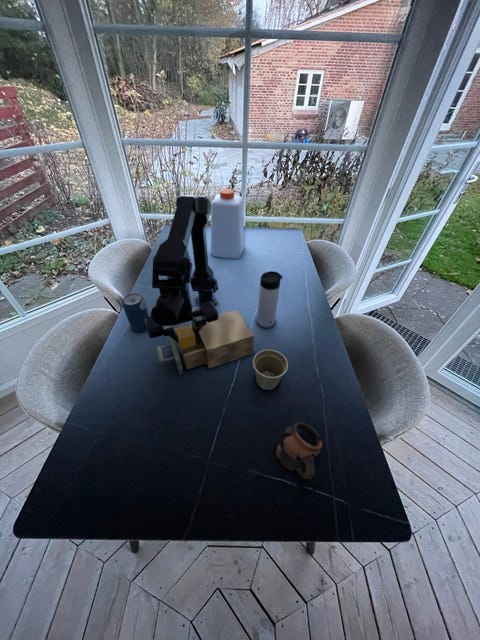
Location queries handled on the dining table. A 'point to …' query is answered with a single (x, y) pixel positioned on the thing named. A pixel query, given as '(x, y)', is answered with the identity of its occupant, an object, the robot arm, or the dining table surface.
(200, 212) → the robot arm
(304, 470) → the pottery mug
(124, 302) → the soda can
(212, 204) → the plastic bottle
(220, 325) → the cabinet
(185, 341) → the block
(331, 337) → the dining table surface
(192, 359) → the drawer
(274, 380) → the flower pot
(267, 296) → the travel mug
